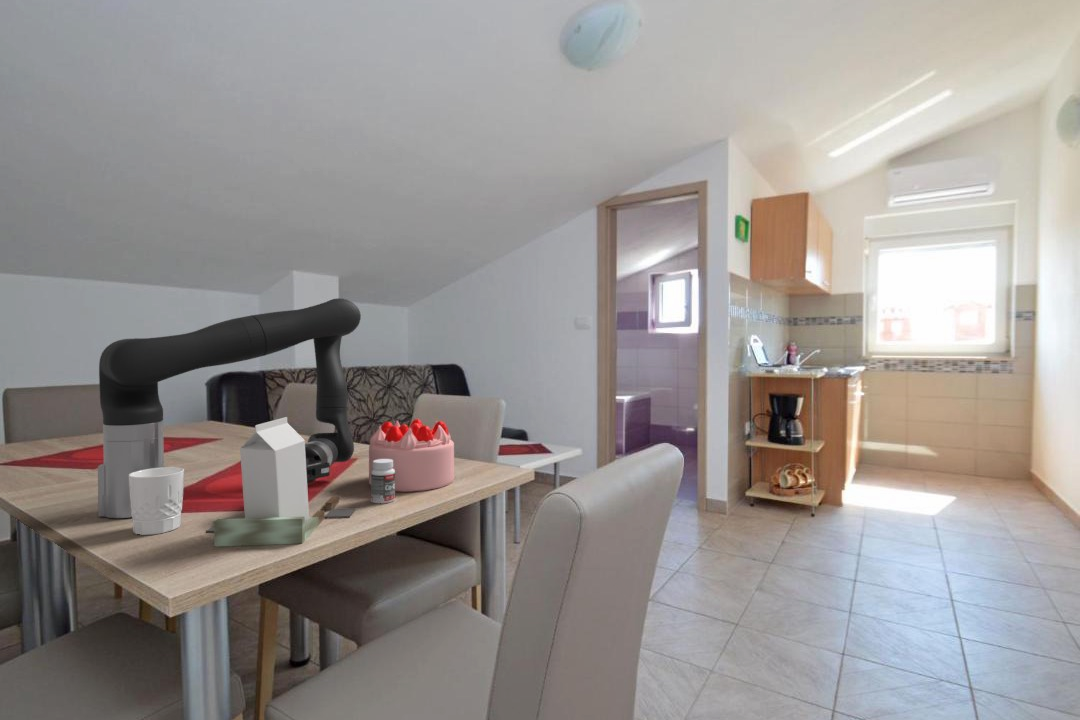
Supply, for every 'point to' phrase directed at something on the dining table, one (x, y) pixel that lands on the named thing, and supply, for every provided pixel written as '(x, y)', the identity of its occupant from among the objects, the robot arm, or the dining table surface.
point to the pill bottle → (383, 481)
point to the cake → (415, 454)
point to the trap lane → (268, 529)
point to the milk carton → (274, 472)
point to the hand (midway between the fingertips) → (280, 480)
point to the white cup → (156, 499)
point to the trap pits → (331, 514)
